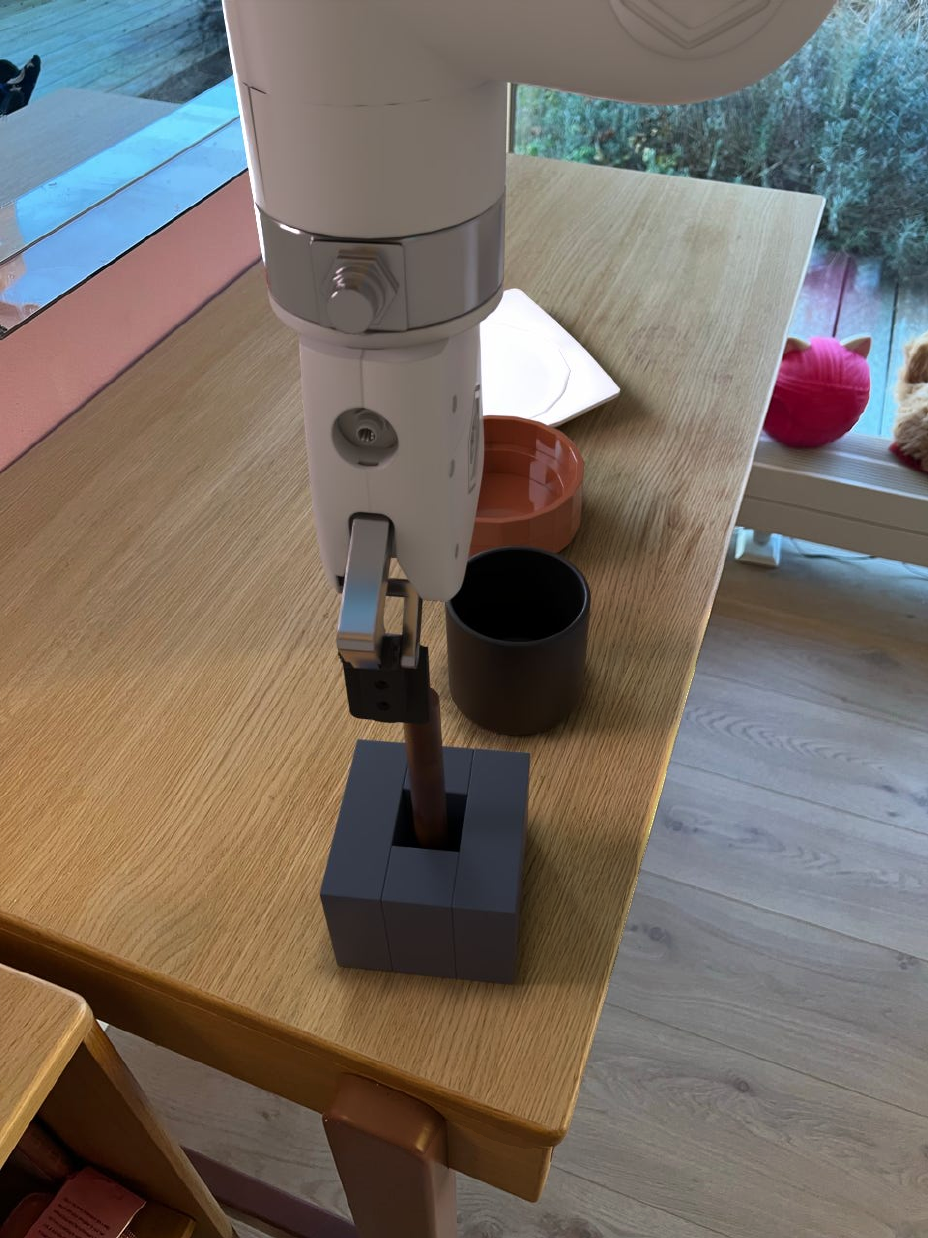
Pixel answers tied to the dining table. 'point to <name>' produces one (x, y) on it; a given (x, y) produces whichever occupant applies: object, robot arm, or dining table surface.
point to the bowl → (527, 486)
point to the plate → (537, 366)
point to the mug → (518, 639)
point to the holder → (429, 867)
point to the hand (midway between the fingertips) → (410, 628)
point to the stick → (427, 780)
